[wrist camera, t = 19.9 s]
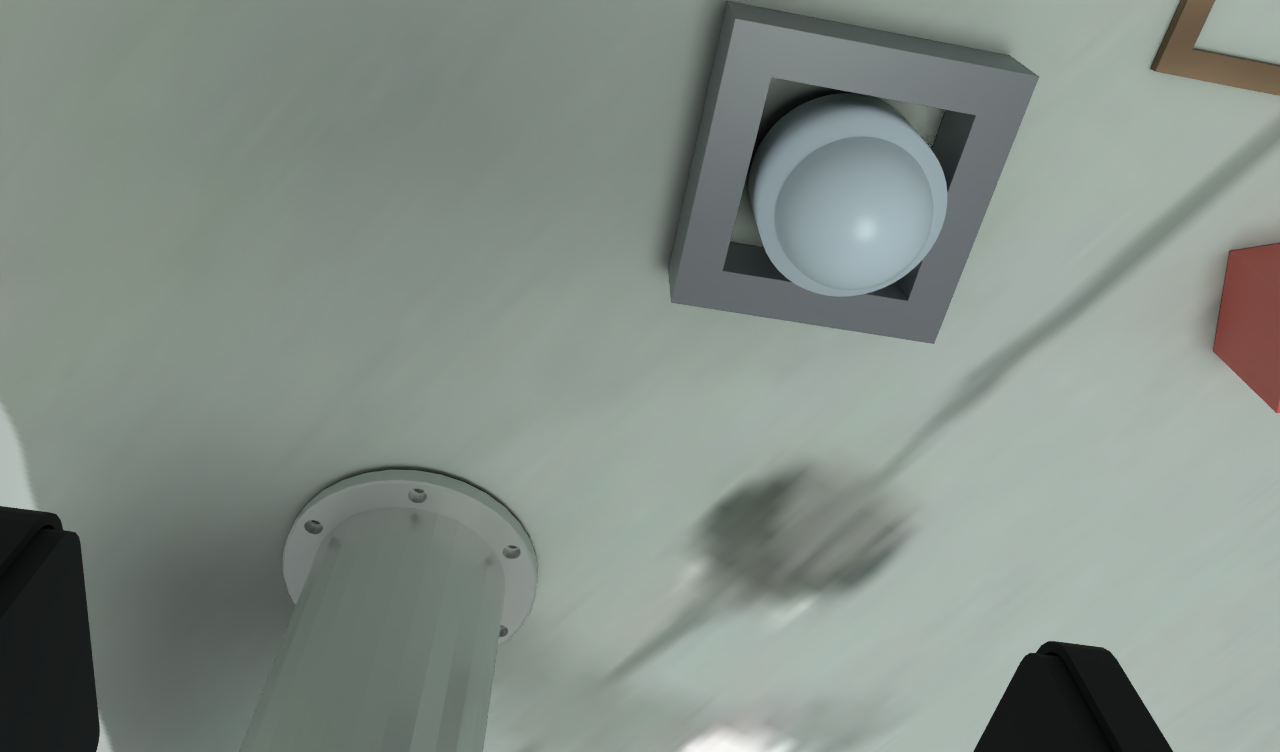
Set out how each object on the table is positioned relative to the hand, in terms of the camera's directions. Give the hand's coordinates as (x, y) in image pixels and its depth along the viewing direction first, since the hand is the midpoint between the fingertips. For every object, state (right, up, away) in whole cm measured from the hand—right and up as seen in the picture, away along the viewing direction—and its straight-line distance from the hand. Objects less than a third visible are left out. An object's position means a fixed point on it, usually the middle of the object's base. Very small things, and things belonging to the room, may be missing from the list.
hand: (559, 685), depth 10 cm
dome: (+8, +11, +28) cm, 31 cm away
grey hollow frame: (+8, +11, +29) cm, 33 cm away
